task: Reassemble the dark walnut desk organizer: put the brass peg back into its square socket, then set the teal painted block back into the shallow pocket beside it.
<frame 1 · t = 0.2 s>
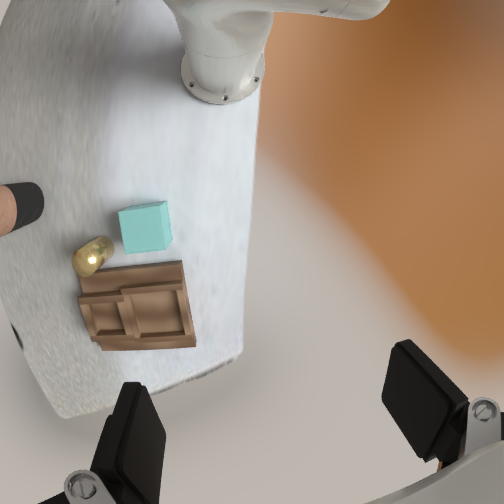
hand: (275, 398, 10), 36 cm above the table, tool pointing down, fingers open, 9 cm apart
organizer: (138, 307, 46), on the table
travel mug: (30, 202, 39), on the table
peg: (103, 247, 43), on the table
block: (151, 222, 43), on the table
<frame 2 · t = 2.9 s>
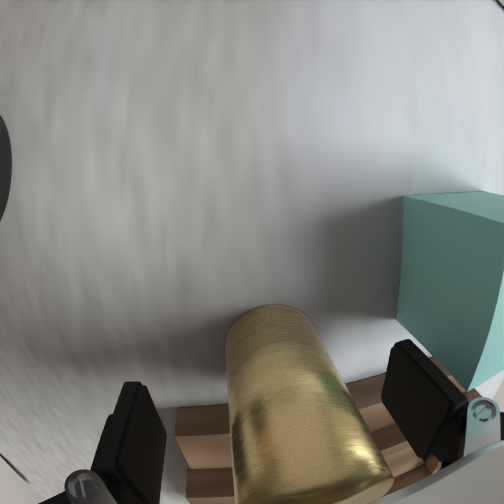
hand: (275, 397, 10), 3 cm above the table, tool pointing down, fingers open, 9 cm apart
organizer: (335, 454, 16), on the table
peg: (271, 344, 12), on the table
block: (445, 252, 12), on the table, touching gripper
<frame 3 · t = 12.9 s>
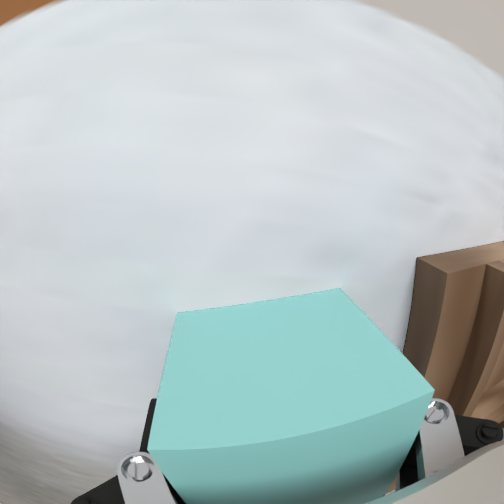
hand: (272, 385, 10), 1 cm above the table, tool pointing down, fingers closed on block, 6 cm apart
organizer: (476, 370, 14), on the table
block: (268, 366, 11), on the table, touching gripper
when the fingers open (5 cm above the table, at t = 18.2 s): block drops 2 cm, resting on organizer.
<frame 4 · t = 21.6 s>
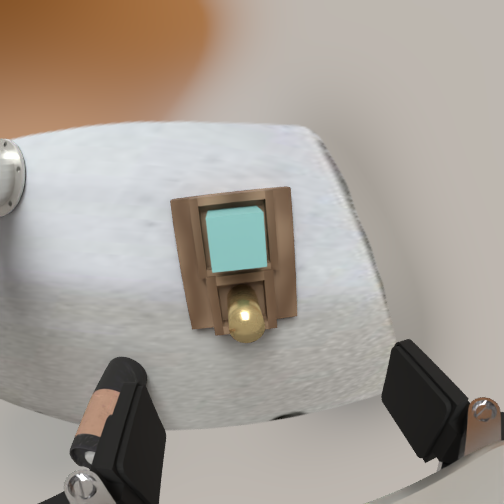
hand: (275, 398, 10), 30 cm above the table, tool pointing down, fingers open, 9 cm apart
organizer: (237, 258, 40), on the table
travel mug: (127, 372, 43), on the table
peg: (241, 297, 39), point 2 cm above the table, touching organizer
block: (234, 231, 37), point 2 cm above the table, touching organizer
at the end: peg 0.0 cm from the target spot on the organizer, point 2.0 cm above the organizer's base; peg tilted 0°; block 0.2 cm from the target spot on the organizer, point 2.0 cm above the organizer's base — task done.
